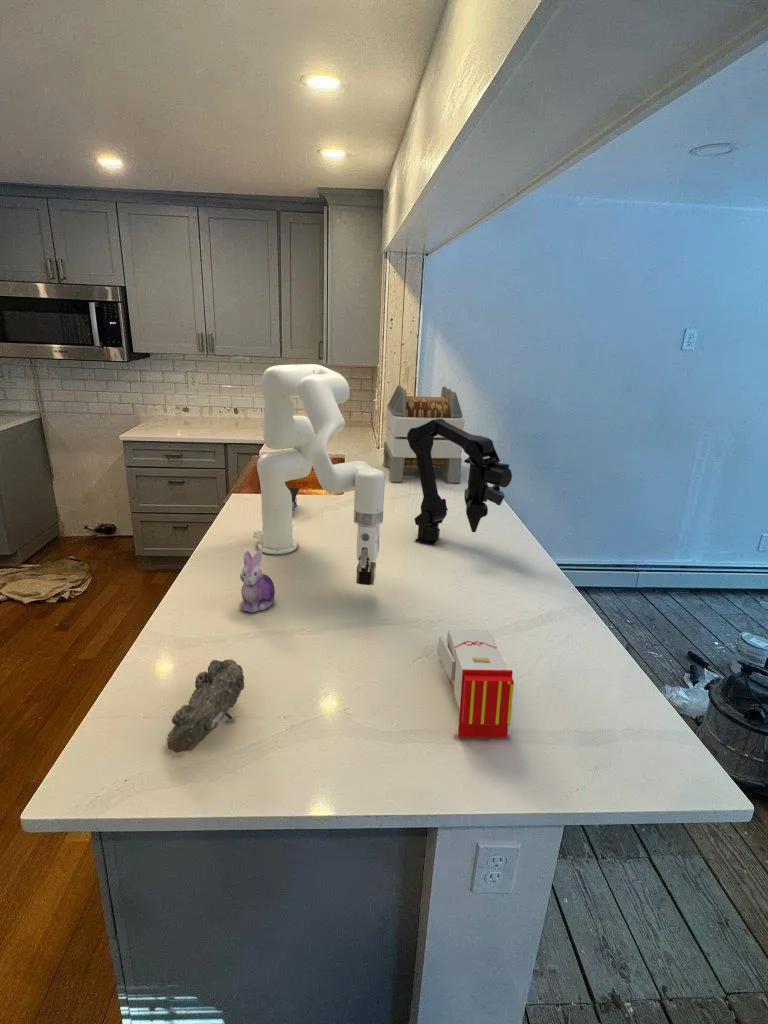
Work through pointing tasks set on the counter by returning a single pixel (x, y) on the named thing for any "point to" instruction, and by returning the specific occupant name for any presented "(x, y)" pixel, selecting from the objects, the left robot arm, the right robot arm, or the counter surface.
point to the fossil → (206, 705)
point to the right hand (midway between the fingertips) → (472, 526)
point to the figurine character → (293, 496)
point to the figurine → (255, 584)
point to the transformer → (414, 414)
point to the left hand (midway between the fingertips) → (366, 579)
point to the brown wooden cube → (372, 569)
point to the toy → (478, 682)
